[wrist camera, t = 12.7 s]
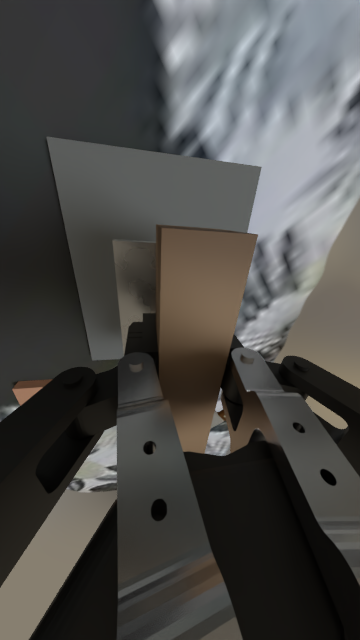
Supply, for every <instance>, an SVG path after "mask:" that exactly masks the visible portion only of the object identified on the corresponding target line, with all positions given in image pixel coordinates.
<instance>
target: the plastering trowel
mask: <svg viewBox="0 0 360 640" xmlns="http://www.w3.org/2000/svg"><path fill="white" fill-rule="evenodd" d="M257 237H258V235H257V234H250V233H243V232H237V231H230V230H223V229H213V228H199V227H185V226H172V225H158V224H156V242H153V241H136V240H118V239H114V240H112V241H113V251H114V261H115V272H116V282H117V292H118V302H119V312H120V323H121V333H122V343H123V353H125V347H126V340H127V334H128V328H129V326H130V325H131V324H132V323H133V322H143V313H156V332H157V344H158V379H159V383H160V387H161V391H162V394H163V398H164V399H165V398H167V400H168V402H169V405H170V408H171V412H172V415H173V419H174V422H175V425H176V429H177V432H178V436H179V439H180V443H181V446H182V450H183V452H187V451H190V452H196V453H203V454H204V452H205V448H206V444H207V440H208V436H209V432H210V428H211V424H212V420H213V416H214V412H215V408H216V404H217V399H218V395H219V391H220V387H221V383H222V379H223V375H224V371H225V367H226V363H227V359H228V355H229V351H230V347H231V342H232V338H233V334H234V330H235V326H236V322H237V318H238V314H239V310H240V306H241V302H242V298H243V294H244V290H245V285H246V281H247V277H248V273H249V269H250V265H251V261H252V257H253V253H254V249H255V245H256V241H257Z"/></svg>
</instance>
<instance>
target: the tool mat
mask: <svg viewBox="0 0 360 640" xmlns="http://www.w3.org/2000/svg"><path fill="white" fill-rule="evenodd" d="M47 142H48V147H49V152H50V157H51V162H52V166H53V171H54V176H55V181H56V186H57V191H58V196H59V201H60V205H61V210H62V215H63V220H64V225H65V230H66V235H67V240H68V244H69V249H70V254H71V259H72V264H73V269H74V274H75V279H76V284H77V288H78V293H79V298H80V303H81V308H82V313H83V318H84V323H85V327H86V332H87V337H88V342H89V347H90V352H91V357H92V360H109V359H121V358H122V357H124V353H123V343H122V333H121V323H120V312H119V302H118V292H117V282H116V272H115V261H114V251H113V241H112V240H114V239H118V240H136V241H153V242H156V224H158V225H172V226H185V227H199V228H213V229H223V230H230V231H237V232H243V233H247V230H248V226H249V221H250V217H251V212H252V208H253V203H254V199H255V194H256V189H257V185H258V180H259V176H260V171H261V167H258V166H251V165H244V164H237V163H230V162H223V161H216V160H208V159H201V158H194V157H187V156H180V155H173V154H166V153H159V152H152V151H145V150H138V149H131V148H123V147H116V146H109V145H102V144H95V143H88V142H81V141H74V140H67V139H60V138H53V137H47Z"/></svg>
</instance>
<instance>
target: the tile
mask: <svg viewBox="0 0 360 640" xmlns="http://www.w3.org/2000/svg"><path fill="white" fill-rule="evenodd" d="M51 380H53V379H50V380H34V381H18V382H17V384H16V385H15V386H14V388H13V389H12V390H13V392H14V394H15V396H16V398H17V400H18V401H19V403H20V405H22V404H23V403H24V402H26V401H27V400H28V399H29V398H31V397H32V396H33V395H34V394H36V393H37V392H38V391H39V390H40V389H42V388H43V387H44V386H45V385H47V384H48V383H49V382H50V381H51Z"/></svg>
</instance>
